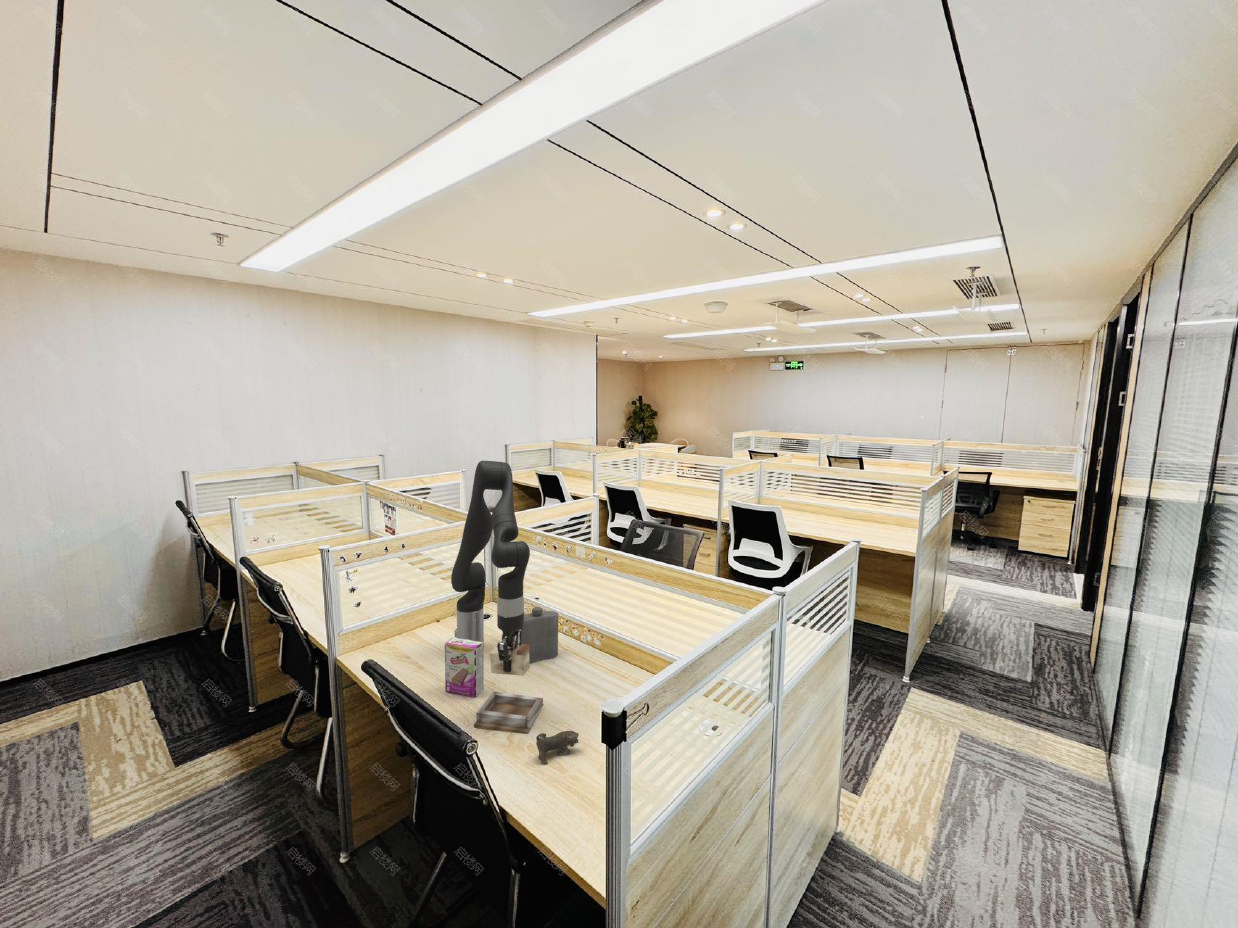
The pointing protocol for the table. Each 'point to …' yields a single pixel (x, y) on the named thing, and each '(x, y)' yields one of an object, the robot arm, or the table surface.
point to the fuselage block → (512, 661)
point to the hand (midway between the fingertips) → (510, 666)
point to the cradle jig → (508, 712)
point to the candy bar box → (464, 667)
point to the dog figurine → (556, 743)
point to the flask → (541, 634)
